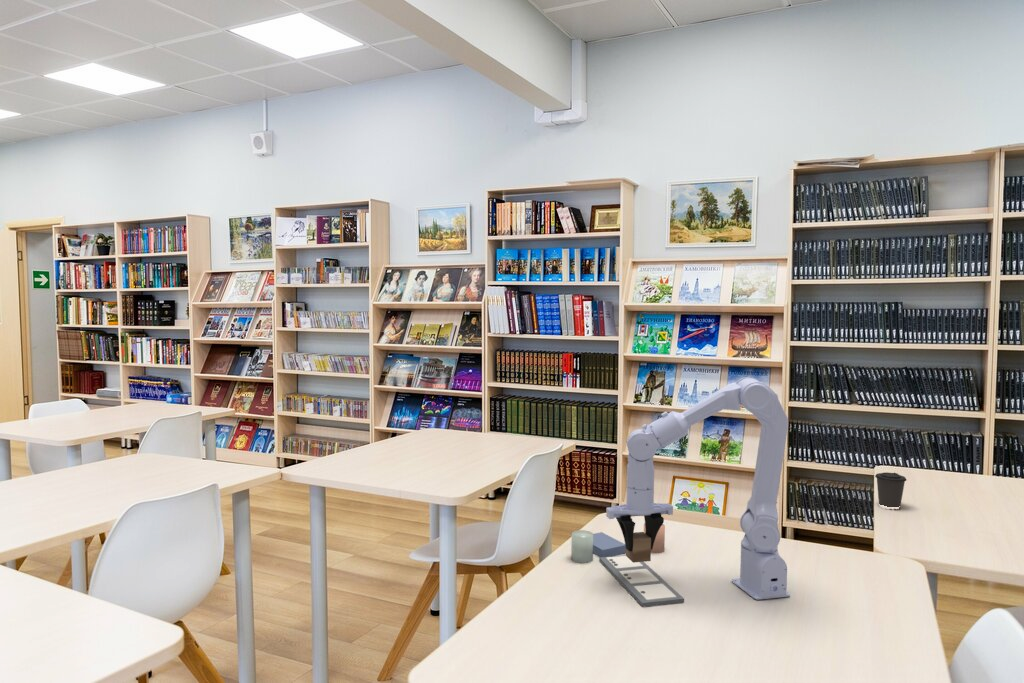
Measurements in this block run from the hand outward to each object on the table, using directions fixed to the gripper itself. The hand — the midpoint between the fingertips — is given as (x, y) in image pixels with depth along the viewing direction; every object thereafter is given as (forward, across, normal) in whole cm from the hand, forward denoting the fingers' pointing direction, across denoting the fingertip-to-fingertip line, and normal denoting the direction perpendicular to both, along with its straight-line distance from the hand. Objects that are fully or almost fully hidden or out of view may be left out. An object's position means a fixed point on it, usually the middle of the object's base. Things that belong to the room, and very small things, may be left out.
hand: (639, 548), depth 145 cm
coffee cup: (+7, -93, -32) cm, 99 cm away
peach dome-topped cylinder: (+7, -11, -16) cm, 21 cm away
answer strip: (+7, 0, 0) cm, 7 cm away
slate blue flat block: (+7, +1, -19) cm, 20 cm away
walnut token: (+2, 0, 0) cm, 2 cm away
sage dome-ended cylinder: (+7, +8, -14) cm, 18 cm away
